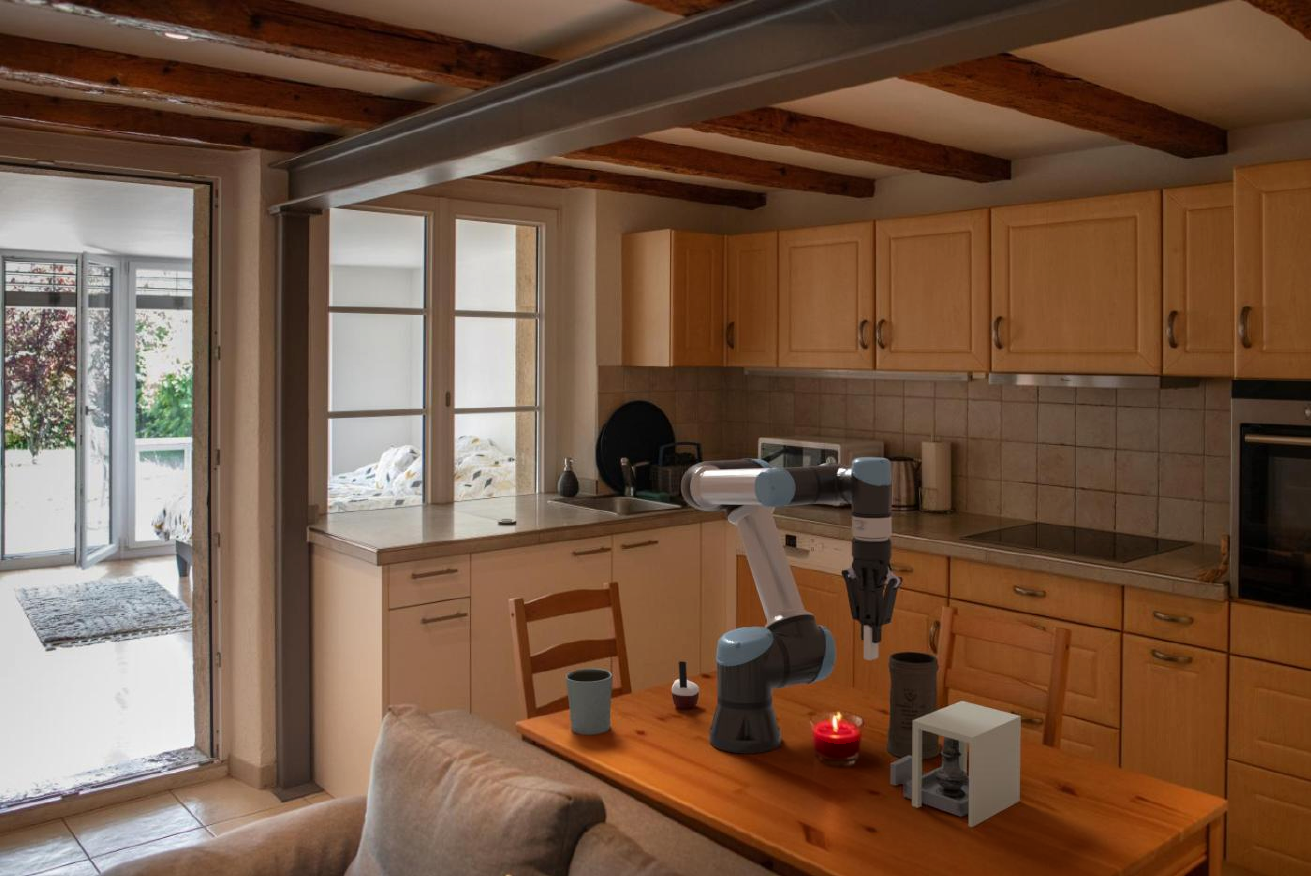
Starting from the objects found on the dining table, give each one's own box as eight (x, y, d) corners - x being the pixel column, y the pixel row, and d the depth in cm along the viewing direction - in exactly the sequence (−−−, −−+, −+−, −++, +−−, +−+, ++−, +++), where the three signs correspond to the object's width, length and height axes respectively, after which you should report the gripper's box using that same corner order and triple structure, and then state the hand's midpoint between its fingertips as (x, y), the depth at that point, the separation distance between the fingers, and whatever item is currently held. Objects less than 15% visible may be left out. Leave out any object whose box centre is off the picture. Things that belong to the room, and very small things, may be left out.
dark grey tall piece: (940, 799, 187) (941, 734, 186) (929, 786, 193) (929, 723, 192) (972, 798, 187) (972, 733, 187) (960, 785, 193) (960, 722, 192)
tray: (880, 788, 194) (880, 767, 194) (917, 771, 202) (917, 751, 202) (961, 816, 182) (961, 794, 181) (997, 797, 190) (997, 775, 189)
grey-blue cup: (621, 729, 228) (620, 676, 227) (581, 739, 222) (580, 684, 221) (597, 717, 236) (596, 665, 235) (558, 726, 231) (557, 673, 230)
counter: (912, 805, 187) (912, 720, 186) (961, 781, 197) (961, 700, 196) (971, 827, 178) (972, 737, 177) (1019, 800, 189) (1020, 715, 187)
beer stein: (942, 763, 207) (942, 662, 207) (886, 759, 209) (887, 659, 209) (937, 741, 222) (937, 647, 222) (885, 737, 224) (886, 645, 224)
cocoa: (682, 701, 248) (681, 651, 248) (706, 704, 245) (705, 653, 245) (662, 711, 240) (661, 659, 240) (686, 714, 237) (685, 662, 237)
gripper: (832, 536, 203) (832, 655, 204) (888, 544, 193) (887, 668, 194) (856, 531, 208) (855, 648, 209) (911, 539, 198) (910, 661, 199)
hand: (871, 657), depth 202 cm, fingers closed
